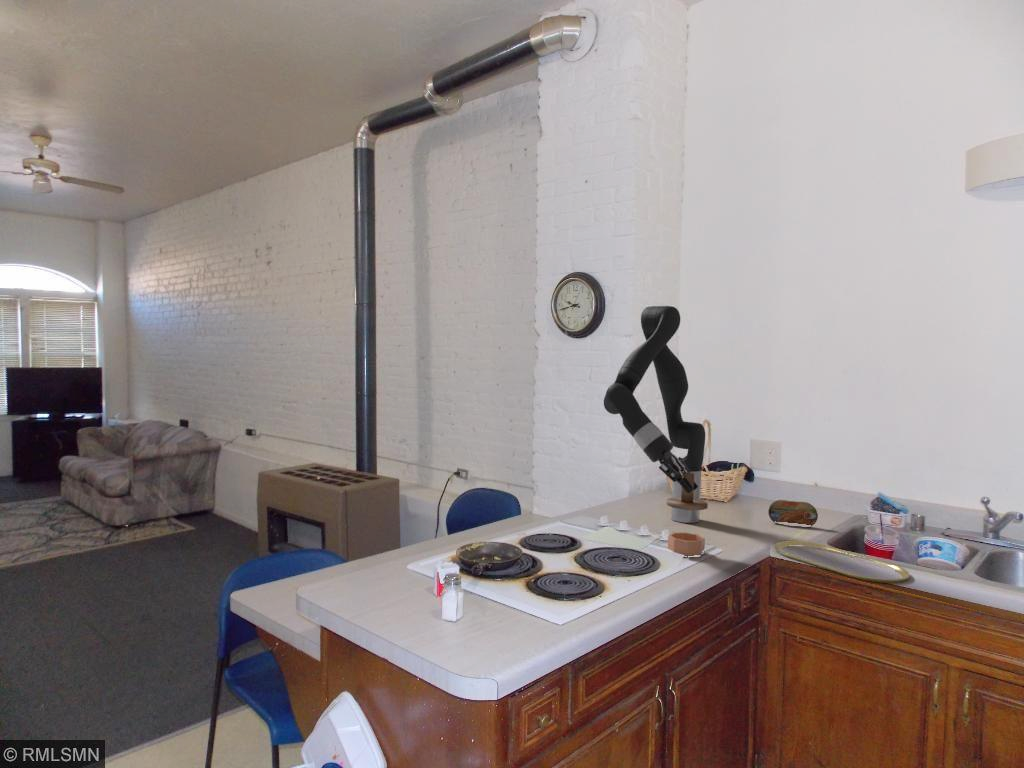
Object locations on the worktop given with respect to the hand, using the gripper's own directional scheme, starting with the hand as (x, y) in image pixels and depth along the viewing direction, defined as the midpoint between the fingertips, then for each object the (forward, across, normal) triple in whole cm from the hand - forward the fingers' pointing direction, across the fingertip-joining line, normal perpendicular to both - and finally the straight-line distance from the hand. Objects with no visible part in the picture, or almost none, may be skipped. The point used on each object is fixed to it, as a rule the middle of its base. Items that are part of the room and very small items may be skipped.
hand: (693, 489), depth 176 cm
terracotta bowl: (+12, 0, +14) cm, 18 cm away
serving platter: (+38, +18, -12) cm, 43 cm away
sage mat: (-2, 0, +27) cm, 27 cm away
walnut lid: (+2, 0, +4) cm, 5 cm away
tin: (+25, +55, 0) cm, 61 cm away
